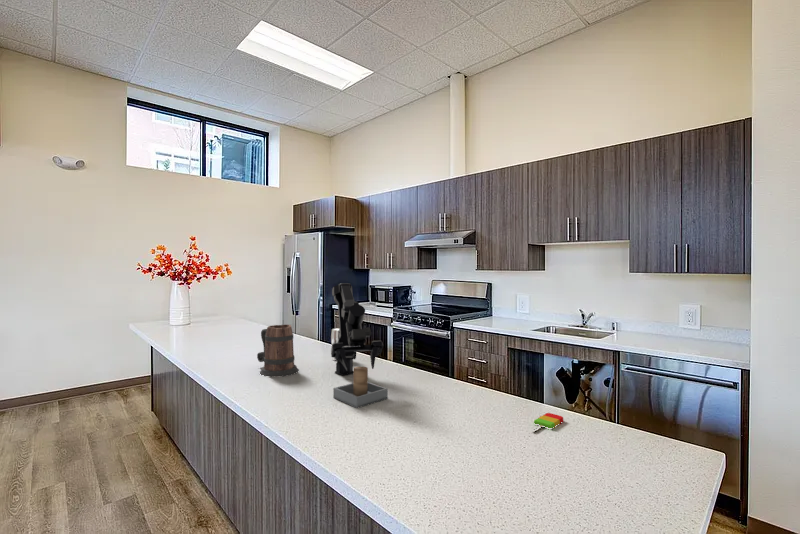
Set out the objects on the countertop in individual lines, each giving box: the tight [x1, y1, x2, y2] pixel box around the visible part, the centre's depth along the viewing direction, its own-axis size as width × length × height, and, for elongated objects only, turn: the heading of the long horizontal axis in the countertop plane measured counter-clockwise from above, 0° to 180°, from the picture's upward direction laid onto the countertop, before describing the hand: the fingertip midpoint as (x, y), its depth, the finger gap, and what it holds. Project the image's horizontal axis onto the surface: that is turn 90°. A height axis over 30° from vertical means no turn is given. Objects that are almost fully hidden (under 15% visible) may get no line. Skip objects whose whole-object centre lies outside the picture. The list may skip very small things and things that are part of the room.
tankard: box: [256, 324, 300, 377], centre depth 178 cm, size 24×17×20 cm
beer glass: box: [330, 327, 340, 361], centre depth 198 cm, size 7×7×15 cm
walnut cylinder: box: [352, 366, 369, 396], centre depth 142 cm, size 5×5×10 cm
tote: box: [332, 381, 389, 409], centre depth 142 cm, size 14×14×4 cm
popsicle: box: [533, 412, 564, 428], centre depth 119 cm, size 6×15×2 cm, turn 135°
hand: (360, 369), depth 142 cm, fingers open, 9 cm apart
